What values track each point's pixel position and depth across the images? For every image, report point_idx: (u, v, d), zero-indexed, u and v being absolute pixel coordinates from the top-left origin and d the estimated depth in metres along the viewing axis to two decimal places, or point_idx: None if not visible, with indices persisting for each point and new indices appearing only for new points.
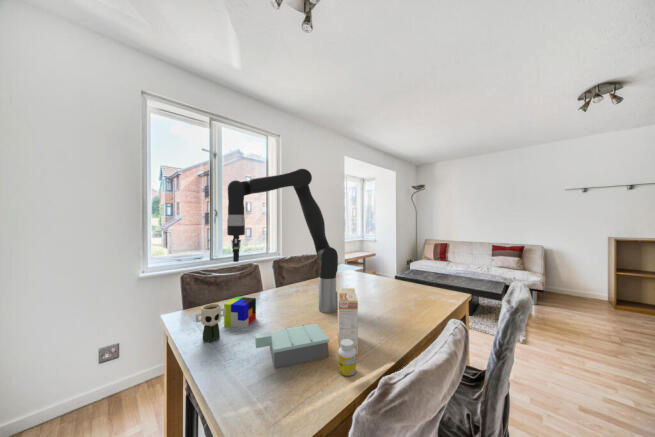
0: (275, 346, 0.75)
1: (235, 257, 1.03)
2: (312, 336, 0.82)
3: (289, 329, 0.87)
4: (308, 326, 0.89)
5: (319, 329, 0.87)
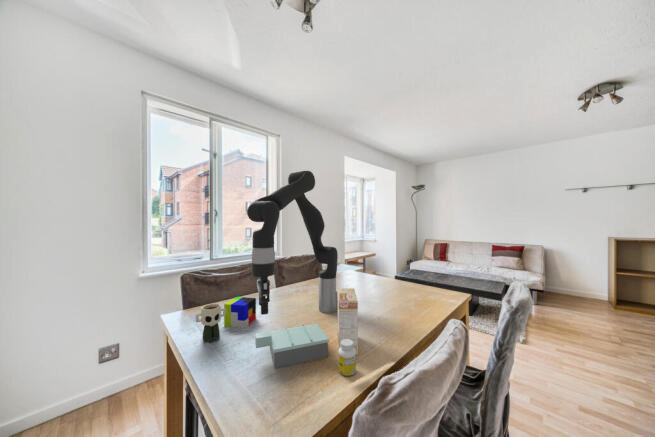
0: (275, 346, 0.75)
1: (264, 308, 0.73)
2: (312, 336, 0.82)
3: (289, 329, 0.87)
4: (308, 326, 0.89)
5: (319, 329, 0.87)
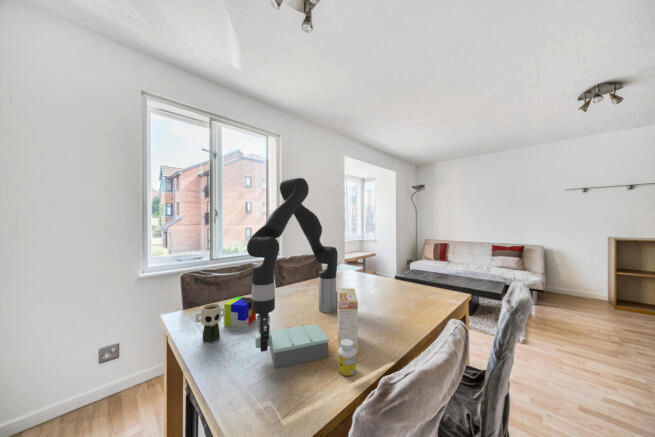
0: (275, 346, 0.75)
1: (263, 346, 0.76)
2: (312, 336, 0.82)
3: (289, 329, 0.87)
4: (308, 326, 0.89)
5: (319, 329, 0.87)
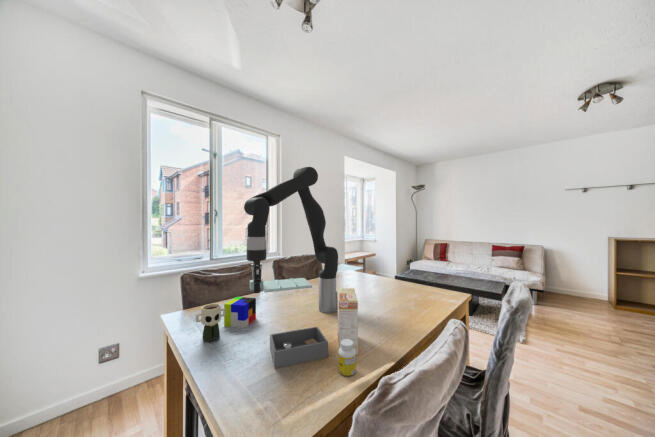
0: (266, 288, 0.90)
1: (256, 288, 0.90)
2: (298, 283, 0.96)
3: (279, 280, 1.01)
4: (295, 279, 1.04)
5: (305, 280, 1.01)
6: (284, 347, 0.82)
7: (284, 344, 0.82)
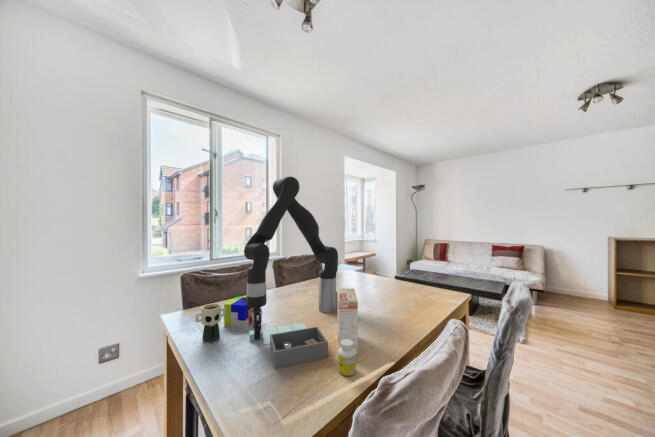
0: (266, 341, 0.90)
1: (256, 335, 0.89)
2: None
3: (279, 327, 1.01)
4: (295, 325, 1.04)
5: (304, 327, 1.01)
6: (284, 347, 0.82)
7: (284, 344, 0.82)
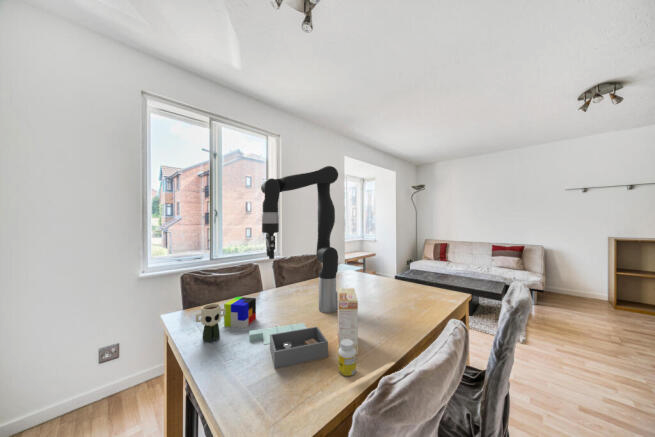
0: (265, 341, 0.90)
1: (271, 254, 1.04)
2: None
3: (278, 327, 1.01)
4: (295, 325, 1.04)
5: (304, 327, 1.01)
6: (284, 347, 0.82)
7: (284, 344, 0.82)
